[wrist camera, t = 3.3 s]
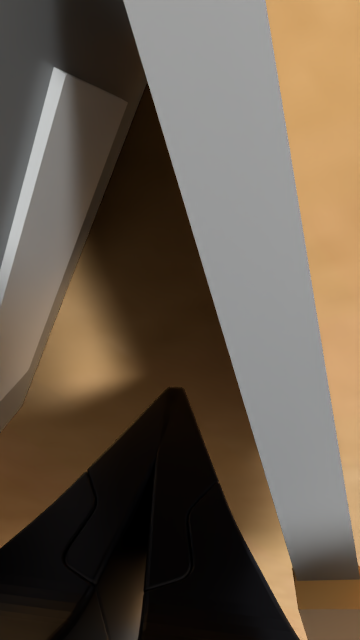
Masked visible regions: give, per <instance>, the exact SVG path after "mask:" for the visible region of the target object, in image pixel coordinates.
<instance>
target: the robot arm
mask: <svg viewBox="0 0 360 640" xmlns="http://www.w3.org/2000/svg"><path fill="white" fill-rule="evenodd" d="M0 640H300V639H299V638H298V636H297V635H296V633H295V631H294V630H293V628H292V627H291V625H290V623H289V622H288V620H287V618H286V616H285V615H284V613H283V611H282V609H281V607H280V606H279V604H278V602H277V600H276V598H275V596H274V594H273V593H272V591H271V589H270V587H269V585H268V583H267V581H266V580H265V578H264V576H263V574H262V572H261V570H260V568H259V567H258V565H257V563H256V561H255V559H254V557H253V555H252V553H251V552H250V550H249V548H248V546H247V544H246V542H245V540H244V538H243V536H242V534H241V532H240V530H239V528H238V526H237V524H236V522H235V520H234V518H233V515H232V513H231V511H230V508H229V506H228V503H227V501H226V499H225V496H224V493H223V491H222V488H221V485H220V484H219V481H218V478H217V475H216V473H215V470H214V467H213V465H212V462H211V459H210V457H209V454H208V451H207V449H206V446H205V443H204V441H203V438H202V435H201V433H200V430H199V427H198V425H197V422H196V419H195V417H194V414H193V411H192V409H191V406H190V403H189V401H188V398H187V395H186V393H185V390H184V388H182V387H169V388H167V389H166V390H165V391H164V392H163V393H162V394H161V395H160V396H159V397H158V398H157V399H156V400H155V401H154V402H153V403H152V404H151V405H150V406H149V407H148V408H147V409H146V410H145V411H144V412H143V414H142V415H141V416H140V417H139V418H138V419H137V420H136V421H135V422H134V423H133V424H132V425H131V426H130V427H129V428H128V429H127V430H126V431H125V432H124V433H123V434H122V435H121V436H120V437H119V438H118V439H117V440H116V441H115V442H114V443H113V444H112V445H111V446H110V447H109V448H108V449H107V450H106V451H105V452H104V453H103V454H102V455H101V456H100V457H99V458H98V459H97V460H96V461H95V462H94V463H93V464H92V465H91V467H90V468H89V469H88V470H87V472H84V473H83V474H82V475H81V477H80V478H79V479H78V480H77V481H76V482H75V483H74V484H73V485H72V486H71V487H69V488H68V489H67V490H66V491H65V492H64V493H63V494H62V495H61V496H60V497H59V498H58V499H57V500H56V501H55V502H54V503H53V504H52V505H50V506H49V507H48V508H47V509H46V510H45V511H44V512H43V513H41V514H40V515H39V516H38V517H37V518H36V519H35V520H33V521H32V522H31V523H30V524H29V525H28V526H26V527H25V528H24V529H23V530H22V531H20V532H19V533H18V534H17V535H16V536H15V537H13V538H12V539H11V540H10V541H9V542H7V543H6V544H5V545H4V546H3V547H1V548H0Z"/></svg>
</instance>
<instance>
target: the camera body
mask: <svg viewBox="0 0 360 640" xmlns="http://www.w3.org/2000/svg"><path fill="white" fill-rule="evenodd" d="M146 84H147V78H146V75H145V71H144V68H143V64H142V61H141V58H140V54H139V51H138V48H137V44H136V41H135V38H134V34H133V31H132V28H131V24H130V21H129V18H128V14H127V11H126V8H125V4H124V1H123V0H0V433H1V431H2V430H3V429H4V428H5V426H6V425H7V424H8V423H9V422H10V420H11V419H12V418H13V417H14V415H15V414H16V413H17V412H18V410H19V409H20V408H21V407H22V405H23V402H24V400H25V397H26V394H27V392H28V389H29V387H30V384H31V382H32V379H33V376H34V374H35V371H36V369H37V366H38V363H39V361H40V358H41V356H42V353H43V350H44V348H45V345H46V343H47V340H48V337H49V335H50V332H51V330H52V327H53V325H54V322H55V319H56V317H57V314H58V312H59V309H60V306H61V304H62V301H63V299H64V296H65V293H66V291H67V288H68V286H69V283H70V281H71V278H72V275H73V273H74V270H75V268H76V265H77V262H78V260H79V257H80V255H81V252H82V249H83V247H84V244H85V242H86V239H87V237H88V234H89V231H90V229H91V226H92V224H93V221H94V218H95V216H96V213H97V211H98V208H99V205H100V203H101V200H102V198H103V195H104V192H105V190H106V187H107V185H108V182H109V180H110V177H111V174H112V172H113V169H114V167H115V164H116V161H117V159H118V156H119V154H120V151H121V148H122V146H123V143H124V141H125V138H126V136H127V133H128V130H129V128H130V125H131V123H132V120H133V117H134V115H135V112H136V110H137V107H138V104H139V102H140V99H141V97H142V94H143V91H144V89H145V86H146Z"/></svg>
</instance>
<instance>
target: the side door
mask: <svg viewBox="0 0 360 640" xmlns="http://www.w3.org/2000/svg"><path fill="white" fill-rule="evenodd" d="M123 1H124V4H125V8H126V11H127V14H128V18H129V21H130V24H131V28H132V31H133V34H134V38H135V41H136V44H137V48H138V51H139V54H140V58H141V61H142V64H143V68H144V71H145V75H146V78H147V81H148V85H149V88H150V91H151V95H152V98H153V101H154V105H155V108H156V111H157V115H158V118H159V121H160V125H161V128H162V131H163V135H164V138H165V141H166V145H167V148H168V151H169V155H170V158H171V161H172V165H173V168H174V171H175V175H176V178H177V181H178V185H179V188H180V191H181V195H182V198H183V201H184V205H185V208H186V211H187V215H188V218H189V222H190V225H191V228H192V232H193V235H194V238H195V242H196V245H197V248H198V252H199V255H200V258H201V262H202V265H203V268H204V272H205V275H206V278H207V282H208V285H209V288H210V292H211V295H212V298H213V302H214V305H215V308H216V312H217V315H218V318H219V322H220V325H221V328H222V332H223V335H224V338H225V342H226V345H227V348H228V352H229V355H230V358H231V362H232V365H233V369H234V372H235V375H236V379H237V382H238V385H239V389H240V392H241V395H242V399H243V402H244V405H245V409H246V412H247V415H248V419H249V422H250V425H251V429H252V432H253V435H254V439H255V442H256V445H257V449H258V452H259V455H260V459H261V462H262V465H263V469H264V472H265V475H266V479H267V482H268V485H269V489H270V492H271V495H272V499H273V502H274V505H275V509H276V512H277V515H278V519H279V522H280V526H281V529H282V532H283V536H284V539H285V542H286V546H287V549H288V552H289V556H290V559H291V562H292V566H293V568H292V571H293V577H294V584H295V590H296V597H297V604H298V610H299V613H300V616H301V619H302V623H303V626H304V629H305V632H306V635H307V638H308V640H360V567H359V566H358V563H357V557H356V551H355V545H354V539H353V532H352V526H351V520H350V514H349V508H348V502H347V496H346V490H345V484H344V478H343V471H342V465H341V459H340V453H339V447H338V441H337V435H336V429H335V423H334V417H333V410H332V404H331V398H330V392H329V386H328V380H327V374H326V368H325V362H324V356H323V349H322V343H321V337H320V331H319V325H318V319H317V313H316V307H315V301H314V295H313V288H312V282H311V276H310V270H309V264H308V258H307V252H306V246H305V240H304V234H303V228H302V221H301V215H300V209H299V203H298V197H297V191H296V185H295V179H294V173H293V167H292V160H291V154H290V148H289V142H288V136H287V130H286V124H285V118H284V112H283V106H282V99H281V93H280V87H279V81H278V75H277V69H276V63H275V57H274V51H273V45H272V38H271V32H270V26H269V20H268V14H267V8H266V2H265V0H123Z"/></svg>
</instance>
